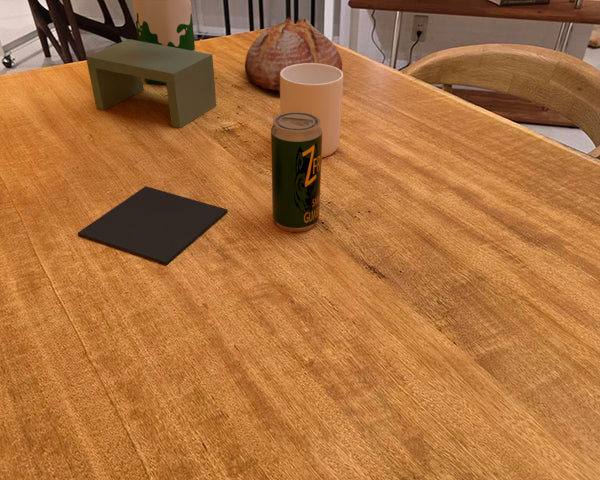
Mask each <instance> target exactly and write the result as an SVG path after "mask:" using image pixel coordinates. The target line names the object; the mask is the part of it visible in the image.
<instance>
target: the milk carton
mask: <svg viewBox="0 0 600 480" xmlns="http://www.w3.org/2000/svg"><path fill="white" fill-rule="evenodd" d="M131 1H132V8H133V15H134V21H135V29H136V34H137V41H142V42H147V43H153V44H158V45H164V46H169V47H175V48H180V49H186V50H191V51H196V45H195V44H196V43H195V32H194V23H193V11H192V4H191V3H192V1H191V0H131ZM144 81H145V84H149V85H150V84H151V85H152V84H154V85H164V86H167V85H166V83H165V82H160V81H156V80H151V79H146V78H144Z"/></svg>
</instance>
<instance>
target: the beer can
mask: <svg viewBox="0 0 600 480" xmlns="http://www.w3.org/2000/svg"><path fill="white" fill-rule="evenodd" d="M320 124H321V122H320V119H319V118H318V117H317V116H315V115H312V114H309V113H304V112H289V113H283V114H277V116H274V118H273V119H272V126H271V127H270V146H271V147H270V152H271V153H270V154H271V155H270V157H271V200H272V201H271V203H272V204H271V205H272V209H271V210H272V220H273V221H274V223H275V224H276V226H277V228H279V229H281V230H283V231H287V232H290V233H303V232H307V231H309V230H311V229H313V228H314V227H315V226H316V224H317V223H318V221H319V218H320V207H321V183H322V179H321V178H322V158H321V157H322V128H321V126H320Z"/></svg>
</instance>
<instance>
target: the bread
mask: <svg viewBox="0 0 600 480" xmlns="http://www.w3.org/2000/svg"><path fill="white" fill-rule="evenodd" d="M303 63H317V64H325V65H330V66H333V67H336V68H338V69H340V70H341V71H342V72H343V60H342V57H341V55H340V52H339V50H338V48H337V46H336V45H335V43H333V41H331V40H330V39H329V38H328V36H326V35H324V34H323V33H322V32H321V31H319V30H318V29H317V28H316V27H314V26H313V25H312V24H311V22H310V21H309V20H308V19H307V18H306V17H305V18H304V19H302V18H299V19H297V20H296V23H294V22H293V20H292V18H291V17H289V16H288V17H287V18H286V19H285V20H284V21H283V22H281V23H278V24H277V25H272V26H271V27H270V28H265V29H264V30H263V31H262V32H261V34H260V35H259V36H257V37H256V39H255V40H254V41H253V42H252V43H251V45H250V46H249V48H248V51H247V53H246V56H245V61H244V71H245V74H246V76H247V78H248V79H249V80H250V81H251V82H252V83H253V84H254V85H256V86H259V87H261V88H264V89H266V90H267V89H270V91H271V90H272V91H274V92H278V93H279V94H280V72H281V71H282V69H284V68H286V67H288V66H291V65H295V64H303Z"/></svg>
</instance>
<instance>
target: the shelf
mask: <svg viewBox="0 0 600 480" xmlns="http://www.w3.org/2000/svg"><path fill="white" fill-rule="evenodd" d="M85 61H86V64H87V69H88V75H89V77H90V79H89V80H90V85H91V88H92V94H93V98H94V102H95V107H96V109H97V110H101V111H106V110H107V109H109V108H111V107H114V106H116V105H117V104H119V103H121V102H123V101H125V100H127V99H129V98H131V97H134V96H135V95H137V94H138V93H142V92H143V91H145V89H144V83H143V82H144V81H143V79H145V78H146V79H151V80H156V81H160V82H165V83H166V85H165V86H166V91H167V100H168V107H169V115H170V122H171V127H173V128H176V129H177V128H178V129H181V128H182V127H184V126H186V125H188V124H189V123H191V122H192V121H194V120H196V119H197V118H198V117H201V116H202V115H205V113H207V112H208V111H210V110H212V109H214V108H216V106H217V95H216V82H215V72H214V71H215V70H214V69H215V68H214V57H213V54H212V53H207V52H201V51H196V50H195V51H191V50H186V49H180V48H175V47H169V46H164V45H158V44H153V43H147V42H142V41H138V40H136V39H130V38H128V39H125V40H123V41H121V42H118V43H116V44H113V45H111V46H109V47H106V48H103V49H101V50H98V51H95V52H93V53H91V54H88V55H85Z"/></svg>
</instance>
